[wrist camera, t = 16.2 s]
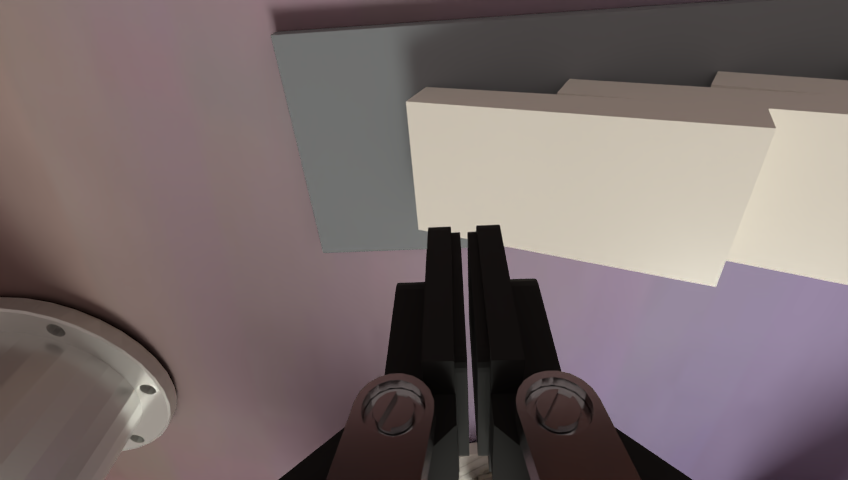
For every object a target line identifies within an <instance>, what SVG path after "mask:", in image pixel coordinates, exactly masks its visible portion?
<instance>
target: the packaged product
mask: <svg viewBox="0 0 848 480" xmlns="http://www.w3.org/2000/svg"><path fill="white" fill-rule="evenodd" d="M459 469H460V472H459V480H492V472H489V464H488V456H478V451H477V442H474V443H469V456H459Z"/></svg>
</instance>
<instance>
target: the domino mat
mask: <svg viewBox="0 0 848 480" xmlns="http://www.w3.org/2000/svg"><path fill="white" fill-rule="evenodd" d="M271 39H272V43H273V47H274V51H275V55H276V59H277V63H278V68H279V72H280V76H281V80H282V84H283V88H284V92H285V97H286V101H287V105H288V109H289V113H290V117H291V121H292V126H293V130H294V134H295V138H296V142H297V146H298V150H299V154H300V159H301V163H302V167H303V171H304V175H305V179H306V183H307V188H308V192H309V196H310V200H311V204H312V208H313V212H314V217H315V221H316V225H317V229H318V233H319V237H320V241H321V246H322V250H323V253H334V252H361V251H388V250H414V249H427V237H428V231H423V230H418V220H417V210H416V199H415V189H414V179H413V169H412V159H411V149H410V139H409V129H408V118H407V108H406V101H407V100H409V99H410V98H411V97H413V96H414V95H416V94H417V93H418V92H420V91H421V90H423V89H424V88H425V87H437V88H454V89H471V90H489V91H506V92H523V93H541V94H557V92H558V91H559V90H560V89H561V88H562V87H563V86H564V84H565V83H566V82H567V81H568V80H569V79H581V80H598V81H614V82H631V83H647V84H664V85H680V86H697V87H711V84H712V82H713V80H714V78H715V76H716V74H717V72H718V71H723V72H738V73H752V74H766V75H780V76H794V77H808V78H822V79H836V80H848V0H729V1H714V2H700V3H685V4H671V5H656V6H642V7H628V8H613V9H599V10H584V11H570V12H556V13H541V14H527V15H512V16H498V17H484V18H469V19H455V20H440V21H426V22H412V23H397V24H383V25H368V26H354V27H340V28H325V29H311V30H296V31H282V32H275V33H274V34H272V35H271ZM460 239H461V248H467V247H468V239H464V238H460Z"/></svg>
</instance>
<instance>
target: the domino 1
mask: <svg viewBox="0 0 848 480" xmlns="http://www.w3.org/2000/svg"><path fill="white" fill-rule="evenodd" d="M406 108H407V118H408V129H409V139H410V149H411V159H412V169H413V179H414V189H415V199H416V210H417V220H418V230H423V231H428V227H451V233H454V232H460V238H464V239H467V232H476V226H477V225H500V228H501V234H502V239H503V244H504V246H506V247H511V248H516V249H522V250H527V251H532V252H537V253H542V254H548V255H553V256H558V257H563V258H568V259H573V260H579V261H584V262H589V263H594V264H599V265H605V266H610V267H615V268H620V269H625V270H631V271H636V272H641V273H646V274H651V275H657V276H662V277H667V278H672V279H677V280H682V281H688V282H693V283H698V284H703V285H708V286H714V287H716V285H717V283H718V280H719V277H720V275H721V272H722V270H723V267H724V264H725V262H726V259H727V256H728V254H729V251H730V249H731V246H732V243H733V241H734V238H735V235H736V233H737V230H738V228H739V225H740V222H741V220H742V217H743V214H744V212H745V209H746V207H747V204H748V201H749V199H750V196H751V193H752V191H753V188H754V186H755V183H756V180H757V178H758V175H759V173H760V170H761V167H762V165H763V162H764V159H765V157H766V154H767V152H768V149H769V146H770V144H771V141H772V138H773V136H774V133H775V131H776V126H775V124H774V122H773V119H772V117H771V114H770V112H769V109H768V107H765V106H748V105H731V104H714V103H696V102H679V101H662V100H644V99H627V98H610V97H592V96H575V95H558V94H541V93H523V92H506V91H489V90H471V89H454V88H437V87H425V88H424V89H423V90H421V91H420V92H418V93H417V94H416V95H414V96H413V97H411V98H410V99H409V100H407V101H406Z"/></svg>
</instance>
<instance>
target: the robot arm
mask: <svg viewBox="0 0 848 480" xmlns="http://www.w3.org/2000/svg"><path fill="white" fill-rule="evenodd" d="M467 239H468V287H469V325H470V341H471V357H472V373H473V388H474V404H475V420H476V435H477V451H478V456H488V464H489V472H492V480H692V479H691V478H689V477H688V476H686V475H685V474H683V473H682V472H680V471H679V470H677V469H676V468H674V467H673V466H671V465H670V464H668V463H667V462H665V461H664V460H662V459H661V458H659V457H658V456H656V455H655V454H654V453H652V452H651V451H649V450H648V449H646V448H645V447H643V446H642V445H640V444H639V443H637V442H636V441H634V440H633V439H631V438H630V437H628V436H627V435H625V434H624V433H622V432H621V431H620V430H618V429H617V428H615V427H614V425H613V423H612V421H611V419H610V417H609V415H608V413H607V411H606V409H605V408H604V406H603V404H602V402H601V400H600V398H599V397H598V395H597V394H596V392H595V391H594V389H593V388H592V387H591V386H589V385H588V384H587V383H586V382H585V381H583V380H582V379H580V378H578V377H576V376H574V375H572V374H570V373H565V372H561V369H560V365H559V361H558V357H557V353H556V350H555V346H554V342H553V338H552V334H551V330H550V327H549V323H548V319H547V315H546V311H545V308H544V304H543V300H542V296H541V292H540V289H539V285H538V282H537V280H536V279H510V277H509V271H508V266H507V261H506V255H505V250H504V244H503V239H502V234H501V228H500V225H477V226H476V232H467ZM176 406H177V395H176V391H175V387H174V385H173V383H172V381H171V379H170V377H169V375H168V373H167V371H166V370H165V369H164V368H163V366H162V365H161V364H160V363H159V361H158V360H157V359H156V358H155V357H154V356H153V355H152V354H151V353H150V352H149V351H147V350H146V349H145V348H144V347H143V346H142V345H141V344H140V343H138V342H137V341H135V340H134V339H132V338H131V337H129V336H128V335H127V334H125V333H124V332H122V331H121V330H119V329H117V328H115V327H113V326H111V325H109V324H107V323H106V322H104V321H102V320H100V319H98V318H95V317H93V316H90V315H88V314H85V313H83V312H80V311H78V310H75V309H72V308H69V307H65V306H62V305H58V304H55V303H51V302H46V301H40V300H34V299H28V298H10V297H0V480H104V479H105V478H106V476H107V474H108V473H109V471H110V469H111V468H112V466H113V465H114V463H115V461H116V460H117V458H118V456H119V455H120V453H121V451H125V450H130V449H134V448H138V447H141V446H143V445H146V444H148V443H151V442H153V441H154V440H155V439H157V438H158V437H160V436H161V435H162V434H163V432H164V431H165V430H166V428H167V427H168V425H169V423H170V421H171V419H172V417H173V415H174V413H175V411H176ZM459 456H469V419H468V381H467V352H466V333H465V314H464V295H463V277H462V258H461V239H460V232H454V233H451V227H428V237H427V256H426V275H425V282H415V283H398V284H397V286H396V292H395V300H394V308H393V315H392V323H391V331H390V338H389V346H388V354H387V361H386V369H385V375H384V376H380V377H378V378H376V379H374V380H372V381H371V382H369V383H368V384H367V385H366V386H365V387H364V388H363V389H362V390H361V391H360V392H359V394H358V395H357V397H356V399H355V401H354V403H353V406H352V409H351V411H350V414H349V417H348V420H347V423H346V425H345V427H344V428H343V429H342V430H341V431H339V432H338V433H337V434H336V435H334V436H333V437H332V438H331V439H329V440H328V441H327V442H326V443H324V444H323V445H322V446H320V447H319V448H318V449H317V450H315V451H314V452H313V453H312V454H310V455H309V456H308V457H307V458H305V459H304V460H303V461H302V462H300V463H299V464H298V465H296V466H295V467H294V468H293V469H291V470H290V471H289V472H288V473H286V474H285V475H284V476H283V477H281V478H280V479H279V480H459V472H460V469H459Z"/></svg>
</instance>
